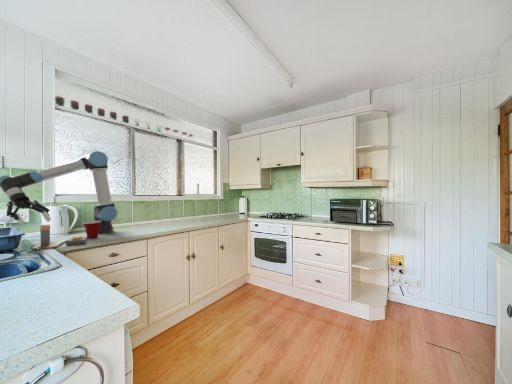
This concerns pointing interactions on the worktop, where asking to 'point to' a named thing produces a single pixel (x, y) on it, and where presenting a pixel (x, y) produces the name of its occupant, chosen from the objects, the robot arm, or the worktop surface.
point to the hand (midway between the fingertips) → (36, 221)
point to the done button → (77, 237)
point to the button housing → (77, 241)
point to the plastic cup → (92, 228)
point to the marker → (45, 235)
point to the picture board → (52, 245)
